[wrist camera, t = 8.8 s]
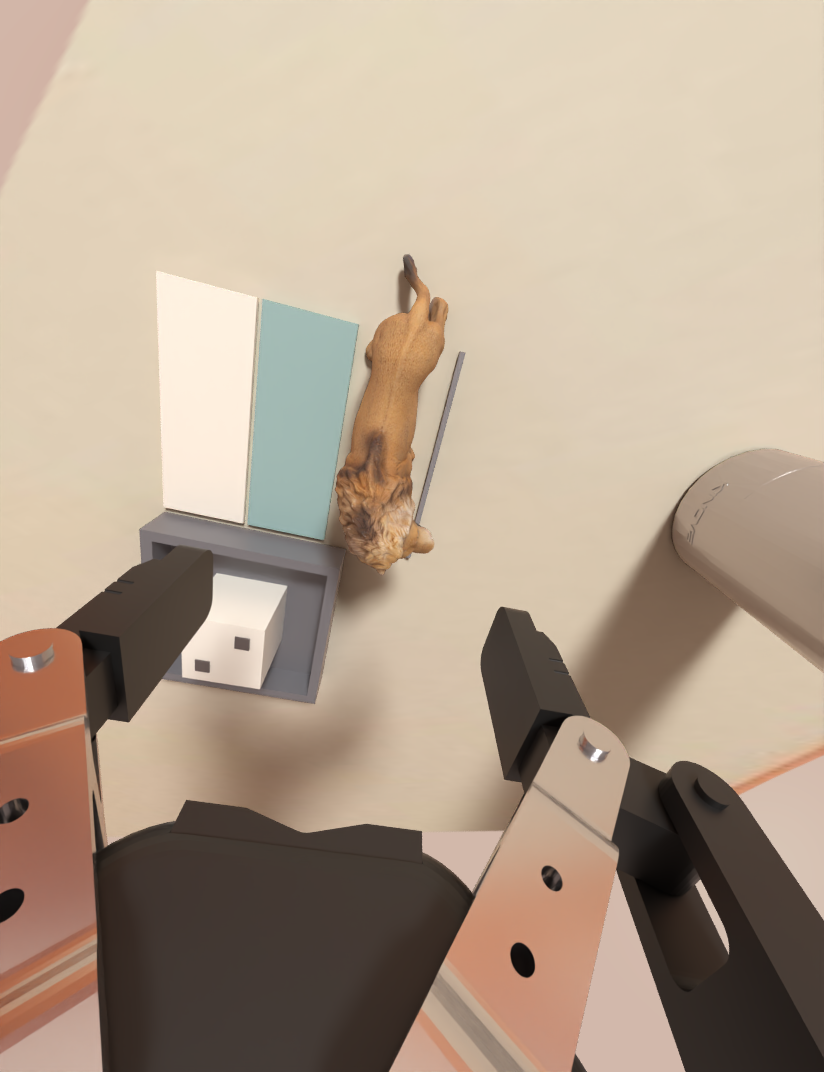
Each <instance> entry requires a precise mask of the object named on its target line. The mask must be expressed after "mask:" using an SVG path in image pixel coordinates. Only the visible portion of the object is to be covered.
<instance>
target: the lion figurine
mask: <svg viewBox="0 0 824 1072" xmlns="http://www.w3.org/2000/svg"><path fill="white" fill-rule="evenodd" d="M403 262H404V272H405V277H406V279H407V280H408V281H409V283H410V285H411V286H412V288H413V289H414V290H415V292H416V293H417V299H416V302H415V304H414V305H413V307H412V309H411V310H410V312H409V313H408V314H407V313H398V314H396V315H393V316H391V317H389V318H387V319H385V320H384V321H383V322H382V323H381V324H380V325H379V326H378V328H377V330H376V332H375V335H374V338H373V340H372V341H371V342H370V343H369V345H368V346H367V348H366V355H367V358H368V359H369V360H370V361H372V372H371V377H370V381H369V384H368V386H367V389H366V391H365V394H364V397H363V400H362V402H361V405H360V408H359V411H358V413H357V416H356V419H355V423H354V428H353V434H352V442H351V452H350V453H349V454H348V456H347V458H346V462H345V466H344V467H343V468H341V470H340V471H339V473H338V475H337V482H336V488H335V491H336V493H337V494H338V498H337V501H338V506H339V510H340V516H339V521H340V523H341V524H342V525H343V531H344V533H345V534H346V535H345V540H346V542H347V544H348V546H349V552H350V553H351V554H354V555H357V557H358V559H359V560H360V561H361V562H363V563H366V564H367V565H369V566H371V567H374V568H376V570H377V572H378V573H379V574H380V575H383V574H384V572H385V571H386V569H389V568H390V567H391V565H392V563H395V562H396V561H397V560H398V559H403V558H405V557H407V556H409V555H410V554H411V553H412V552H414V553H428V552H430V551H431V550H432V549H433V547H434V540H433V539H432V535H431V533H430V531H429V530H428V529H426V528H424V527H421V526H420V525H419V524H417V523H416V522H414V520H413V513H414V510H415V503H414V501H413V500H412V499H411V495H412V480H411V478H410V473H411V470H412V460H413V459H414V458H415V455H414V452H413V450H412V448H411V443H412V440H413V437H414V432H415V426H416V416H417V404H418V389H419V387H420V385H421V384H422V382H423V381H424V380H425V378H426V377H427V376H428V375H429V374H430V373H431V372H432V371H433V370H434V368H435V366H436V364H437V362H438V359H439V357H440V355H441V353H442V351H443V349H444V344H445V338H444V325H445V321H446V319H447V313H448V304H447V302H445V300H443V299H442V298H439V297H435V298H434V299H433V300H432V301H431V303H430V293H429V290H428V288H427V287H426V286H425V285H424V284H423V283H422V282H421V280H420V279H419V278H418V276H417V268H416V267H415V264H414V260H413V258H412V257H411V256H410V255H404V257H403Z"/></svg>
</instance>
